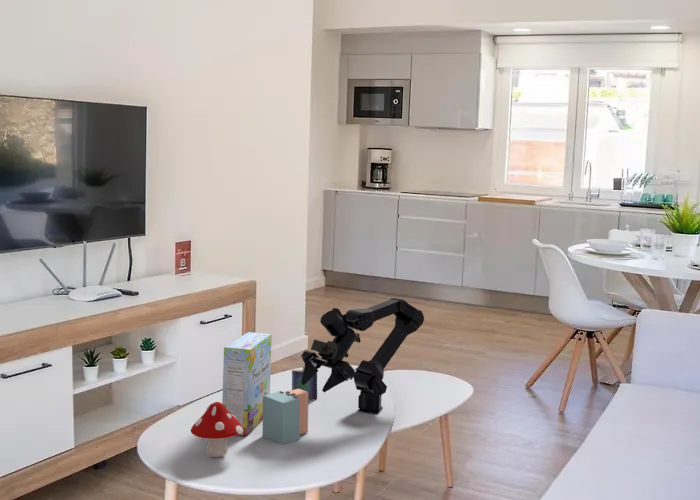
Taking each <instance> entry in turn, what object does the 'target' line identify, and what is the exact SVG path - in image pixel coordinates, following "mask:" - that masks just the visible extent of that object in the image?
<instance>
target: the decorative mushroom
mask: <svg viewBox="0 0 700 500" xmlns="http://www.w3.org/2000/svg"><path fill="white" fill-rule="evenodd" d="M205 409H206V410H205V411H204V412H203V415H201V417H199V419H197V421H196V422H195V423H193V425H192V427H191V429H190V434H192V435H193V436H195V437H196V438H197V437H198V438H200V439H205V440H208V443H207V446H206V454H207V455H208V456H209V457H212V458H221V457H224V456H226V454H227V453H228V446H227V443H226V439H230V438H233V437H235V436H241V435H240V434H242V433H243V427H242V425H241V423H240V422H239V421H238V420H237V418H236V417H235V416H234V415H232V414H231V413H230V412H229V411H228V410H227V409H226V407H225V406H224V405H223V404H222V403H221V402H219V401H215V402H213V403H211V404H209V405H208V406H207V407H206V408H205Z"/></svg>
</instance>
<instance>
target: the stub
mask: <svg viewBox="0 0 700 500" xmlns="http://www.w3.org/2000/svg"><path fill="white" fill-rule="evenodd" d="M284 393H285V394H290V395H291V396H296V397H297V398H299V399H300V405H299V436H300V435H303V434H306V433H308V432H309V425H308V424H309V399H308V392H307V391H304V390H301V389H295V390H292V389H291V390H286V391H285V392H284Z"/></svg>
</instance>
